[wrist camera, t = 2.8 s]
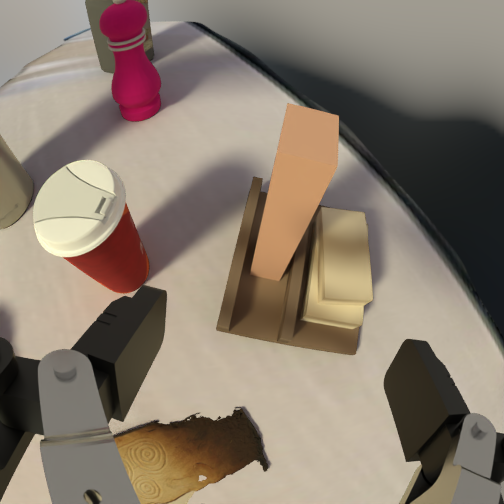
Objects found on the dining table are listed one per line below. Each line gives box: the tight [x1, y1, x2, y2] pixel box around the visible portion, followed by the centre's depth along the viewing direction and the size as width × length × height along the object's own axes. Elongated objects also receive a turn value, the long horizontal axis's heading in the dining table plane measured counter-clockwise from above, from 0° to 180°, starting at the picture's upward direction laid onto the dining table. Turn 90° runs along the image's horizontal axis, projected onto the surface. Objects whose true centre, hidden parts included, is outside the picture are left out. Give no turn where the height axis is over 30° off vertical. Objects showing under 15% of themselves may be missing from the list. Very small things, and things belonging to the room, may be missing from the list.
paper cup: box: [33, 160, 149, 293], centre depth 24 cm, size 8×8×14 cm
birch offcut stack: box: [300, 207, 373, 329], centre depth 29 cm, size 11×6×5 cm, turn 169°
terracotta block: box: [250, 103, 339, 281], centre depth 23 cm, size 4×3×18 cm
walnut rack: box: [216, 177, 366, 355], centre depth 31 cm, size 16×14×4 cm
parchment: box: [113, 409, 268, 504], centre depth 22 cm, size 25×10×1 cm, turn 119°
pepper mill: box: [99, 0, 161, 121], centre depth 31 cm, size 7×7×20 cm
